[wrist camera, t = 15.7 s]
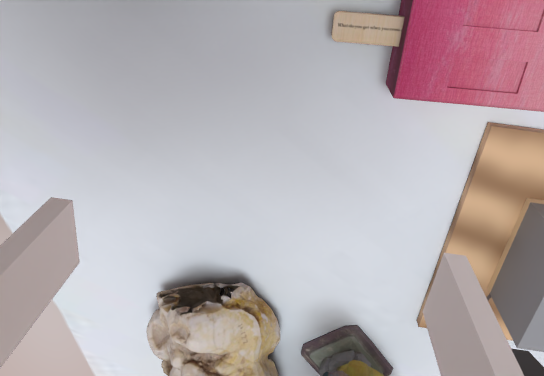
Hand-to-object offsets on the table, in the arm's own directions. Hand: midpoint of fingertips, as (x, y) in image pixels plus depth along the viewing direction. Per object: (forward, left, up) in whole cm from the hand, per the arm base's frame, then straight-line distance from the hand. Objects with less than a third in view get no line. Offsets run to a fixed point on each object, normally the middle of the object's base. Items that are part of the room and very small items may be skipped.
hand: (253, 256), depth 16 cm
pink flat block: (-5, +13, -27) cm, 31 cm away
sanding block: (+14, +26, -26) cm, 39 cm away
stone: (+35, -2, -27) cm, 44 cm away
